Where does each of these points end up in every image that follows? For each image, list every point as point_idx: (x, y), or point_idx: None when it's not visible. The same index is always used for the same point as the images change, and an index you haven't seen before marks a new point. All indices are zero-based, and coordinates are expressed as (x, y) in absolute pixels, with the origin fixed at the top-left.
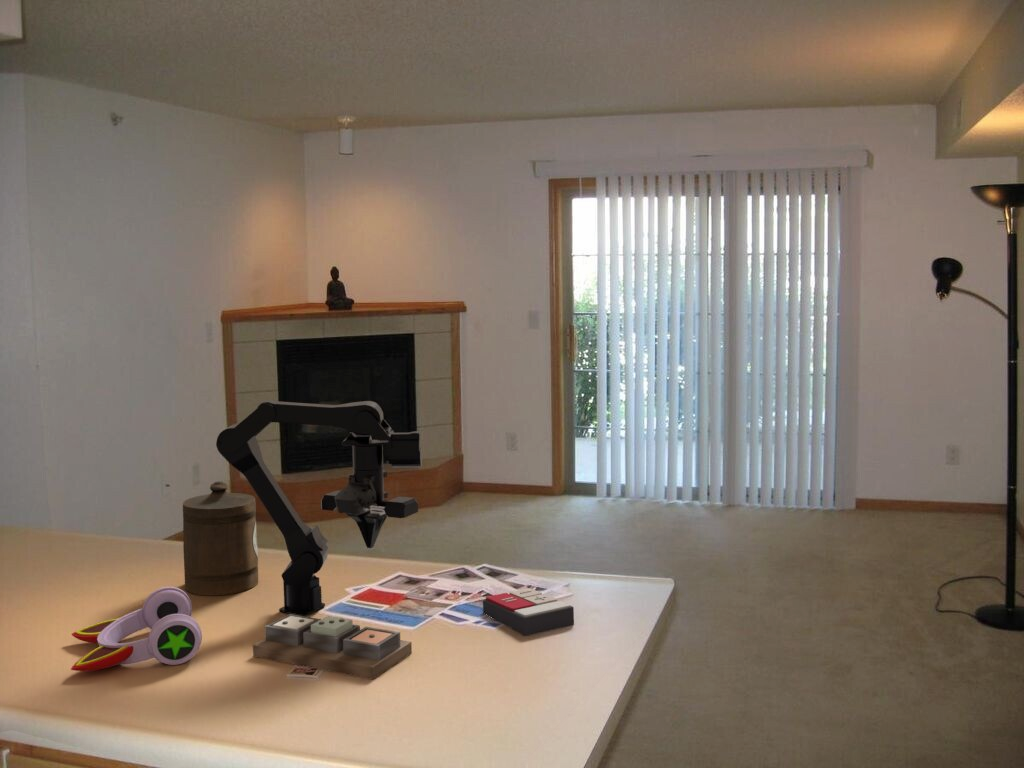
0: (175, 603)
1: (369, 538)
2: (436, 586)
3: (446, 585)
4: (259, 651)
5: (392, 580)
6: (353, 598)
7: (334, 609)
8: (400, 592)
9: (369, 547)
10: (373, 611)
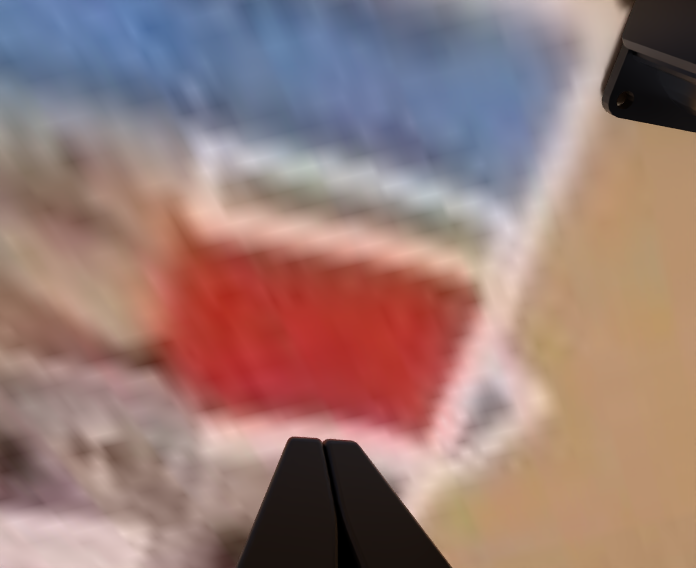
0: None
1: (293, 561)
2: (96, 537)
3: (54, 559)
4: None
5: None
6: (463, 284)
7: (524, 68)
8: (237, 426)
9: (307, 441)
10: (243, 92)
